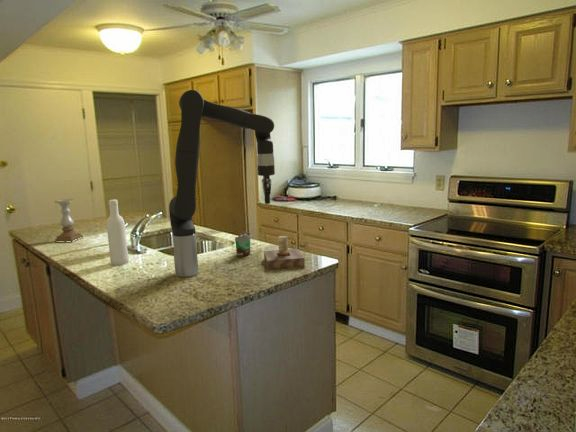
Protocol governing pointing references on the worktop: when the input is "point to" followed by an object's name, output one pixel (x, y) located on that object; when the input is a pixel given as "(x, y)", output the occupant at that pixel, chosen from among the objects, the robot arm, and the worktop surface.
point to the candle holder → (67, 222)
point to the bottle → (116, 236)
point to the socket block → (284, 259)
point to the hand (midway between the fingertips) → (267, 203)
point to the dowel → (283, 246)
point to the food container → (243, 244)
